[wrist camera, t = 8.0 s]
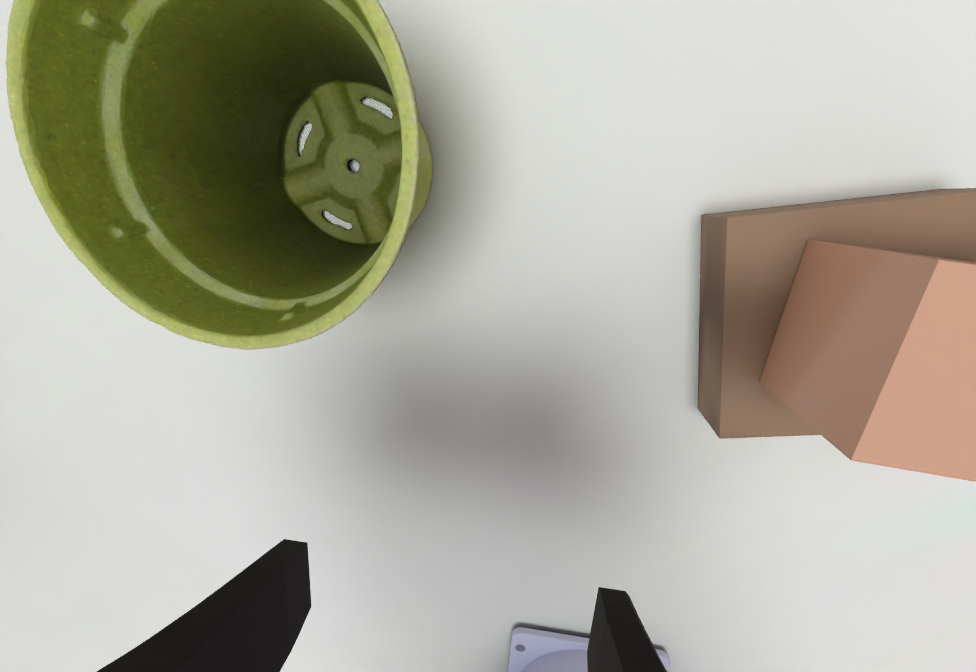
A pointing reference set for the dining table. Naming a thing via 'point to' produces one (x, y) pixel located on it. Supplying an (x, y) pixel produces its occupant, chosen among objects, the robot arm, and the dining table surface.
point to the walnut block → (770, 275)
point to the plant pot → (221, 155)
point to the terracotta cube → (882, 356)
